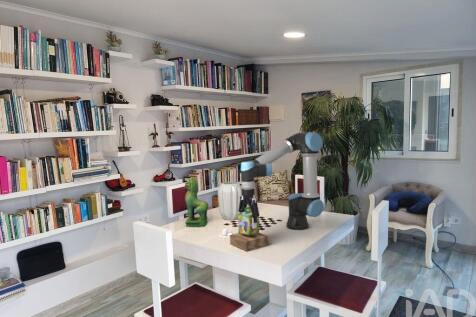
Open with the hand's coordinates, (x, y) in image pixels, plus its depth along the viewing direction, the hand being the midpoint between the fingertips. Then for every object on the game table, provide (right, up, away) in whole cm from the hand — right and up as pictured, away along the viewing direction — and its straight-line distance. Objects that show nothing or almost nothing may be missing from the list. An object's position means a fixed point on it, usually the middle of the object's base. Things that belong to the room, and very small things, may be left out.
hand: (248, 226), depth 195 cm
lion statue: (-36, -9, +46) cm, 59 cm away
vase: (-12, -7, +62) cm, 64 cm away
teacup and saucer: (-14, -11, +17) cm, 25 cm away
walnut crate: (0, -11, +1) cm, 11 cm away
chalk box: (0, -4, 0) cm, 4 cm away
